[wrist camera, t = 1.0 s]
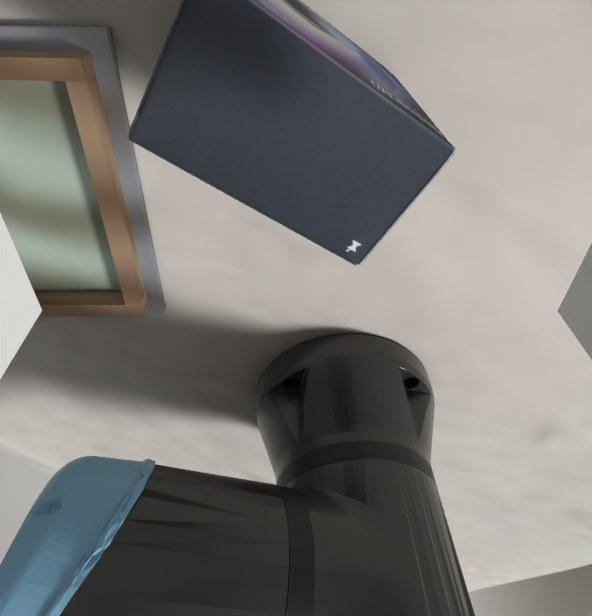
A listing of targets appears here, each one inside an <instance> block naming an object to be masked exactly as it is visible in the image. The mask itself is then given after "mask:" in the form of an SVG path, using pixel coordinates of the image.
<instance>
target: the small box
mask: <svg viewBox="0 0 592 616" xmlns="http://www.w3.org/2000/svg"><path fill="white" fill-rule="evenodd" d="M128 138H129V140H130V141H132V142H134V143H136V144H138V145H139V146H141V147H143V148H145V149H146V150H148V151H150V152H152V153H154V154H155V155H157V156H159V157H161V158H162V159H164V160H166V161H168V162H170V163H171V164H173V165H175V166H177V167H179V168H180V169H182V170H184V171H186V172H188V173H189V174H191V175H193V176H195V177H197V178H199V179H200V180H202V181H204V182H205V183H207V184H209V185H211V186H213V187H215V188H216V189H218V190H220V191H222V192H224V193H225V194H227V195H229V196H231V197H233V198H234V199H236V200H238V201H240V202H242V203H243V204H245V205H247V206H249V207H251V208H253V209H254V210H256V211H258V212H260V213H261V214H263V215H265V216H267V217H269V218H271V219H272V220H274V221H276V222H278V223H280V224H282V225H283V226H285V227H287V228H289V229H290V230H292V231H294V232H296V233H298V234H300V235H301V236H303V237H305V238H307V239H308V240H310V241H312V242H314V243H316V244H317V245H319V246H321V247H323V248H325V249H327V250H328V251H330V252H332V253H334V254H336V255H337V256H339V257H341V258H343V259H345V260H347V261H348V262H350V263H352V264H354V265H360V264H362V263H363V261H364V260H365V259H366V258H367V257H368V255H369V254H370V253H371V252H372V250H373V249H374V248H375V246H376V245H377V244H378V243H379V242H380V241H381V240H382V239H383V237H384V236H385V235H386V234H387V233H388V232H389V230H390V229H391V228H392V227H393V226H394V224H395V223H396V222H397V221H398V220H399V218H400V217H401V216H402V215H403V214H404V212H405V211H406V210H407V209H408V208H409V207H410V206H411V205H412V203H413V202H414V201H415V200H416V199H417V197H418V196H419V195H420V194H421V193H422V192H423V190H424V189H425V188H426V187H427V186H428V184H429V183H430V182H431V181H432V180H433V179H434V177H435V176H436V175H437V174H438V173H439V171H440V170H441V169H442V168H443V167H444V165H445V164H446V163H447V162H448V161H449V159H450V158H451V157H452V156H453V155H454V153H455V148H454V147H453V146H452V145H451V144H450V143H449V142H448V141H447V139H446V138H445V137H444V135H443V134H442V133H441V132H440V130H439V129H438V128H437V127H436V126H435V124H434V123H433V122H432V121H431V119H430V118H429V117H428V116H427V115H426V113H425V112H424V111H423V110H422V108H421V107H420V106H419V105H418V104H417V102H416V101H415V100H414V99H413V98H412V96H411V95H410V94H409V93H408V91H407V90H406V89H405V88H404V86H403V85H402V84H401V83H400V82H399V81H398V79H397V78H396V77H395V76H394V75H393V74H391V73H390V72H389V71H388V70H387V69H386V68H385V67H384V66H383V65H381V64H380V63H379V62H377V61H376V60H375V59H374V58H372V57H371V56H370V55H369V54H367V53H366V52H365V51H364V50H362V49H361V48H360V47H359V46H357V45H356V44H355V43H353V42H352V41H351V40H350V39H348V38H347V37H346V36H345V35H343V34H342V33H341V32H340V31H338V30H337V29H336V28H335V27H333V26H332V25H331V24H330V23H328V22H327V21H326V20H324V19H323V18H322V17H320V16H319V15H318V14H316V13H315V12H314V11H312V10H311V9H310V8H309V7H307V6H306V5H305V4H303V3H302V2H301V1H299V0H182V2H181V5H180V8H179V10H178V13H177V15H176V17H175V20H174V22H173V25H172V27H171V29H170V32H169V34H168V36H167V39H166V41H165V43H164V46H163V49H162V51H161V54H160V56H159V59H158V61H157V64H156V66H155V68H154V71H153V73H152V76H151V78H150V81H149V83H148V85H147V88H146V90H145V93H144V96H143V98H142V100H141V103H140V105H139V108H138V110H137V113H136V116H135V118H134V120H133V123H132V125H131V127H130V131H129V135H128Z"/></svg>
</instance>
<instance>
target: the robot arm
mask: <svg viewBox="0 0 592 616" xmlns="http://www.w3.org/2000/svg"><path fill="white" fill-rule="evenodd" d="M41 311H42V309H41V307H40V304H39V302H38V300H37V297H36V295H35V293H34V290H33V288H32V286H31V283H30V281H29V278H28V276H27V274H26V271H25V269H24V267H23V264H22V262H21V260H20V257H19V255H18V253H17V250H16V248H15V246H14V243H13V241H12V239H11V236H10V234H9V232H8V229H7V227H6V225H5V222H4V220H3V218H2V215H1V213H0V379H1V377H2V376H3V374H4V373H5V371H6V369H7V368H8V366H9V364H10V363H11V361H12V359H13V358H14V356H15V354H16V353H17V351H18V349H19V348H20V346H21V344H22V343H23V341H24V340H25V338H26V336H27V335H28V333H29V331H30V330H31V328H32V326H33V325H34V323H35V321H36V320H37V318H38V316H39V315H40V313H41ZM558 312H559V314H560V315H561V316H562V318H563V319H564V321H565V322H566V324H567V325H568V326H569V328H570V329H571V331H572V332H573V333H574V335H575V336H576V338H577V339H578V341H579V342H580V343H581V345H582V346H583V348H584V349H585V351H586V352H587V353H588V355H589V356H590V358H591V359H592V244H591V246H590V248H589V250H588V252H587V254H586V256H585V258H584V260H583V262H582V264H581V266H580V268H579V270H578V272H577V274H576V276H575V278H574V280H573V282H572V284H571V286H570V288H569V290H568V292H567V293H566V295H565V297H564V299H563V301H562V303H561V305H560V307H559V309H558ZM434 405H435V404H434V395H433V391H432V387H431V384H430V381H429V378H428V375H427V372H426V370H425V368H424V366H423V364H422V363H421V361H420V360H419V359H418V358H417V357H416V356H415V355H414V354H413V353H412V352H410V351H409V350H408V349H406V348H405V347H403V346H401V345H399V344H397V343H395V342H392V341H390V340H387V339H384V338H380V337H375V336H370V335H361V334H341V335H332V336H326V337H321V338H317V339H314V340H311V341H308V342H305V343H302V344H300V345H298V346H296V347H294V348H292V349H290V350H288V351H287V352H285V353H284V354H282V355H281V356H280V357H278V358H277V359H276V360H275V361H274V362H273V363H272V364H271V365H270V366H269V367H268V368H267V370H266V371H265V372H264V374H263V376H262V377H261V380H260V382H259V385H258V389H257V404H256V417H257V423H258V427H259V430H260V433H261V436H262V439H263V441H264V444H265V447H266V450H267V453H268V456H269V459H270V462H271V465H272V468H273V470H274V473H275V476H276V483H277V485H274V484H269V483H263V482H257V481H251V480H245V479H239V478H233V477H227V476H221V475H215V474H209V473H202V472H196V471H190V470H185V469H179V468H173V467H167V466H162V465H156V464H155V461H153V460H151V459H146V460H144V461H142V462H141V461H132V460H124V459H115V458H107V457H98V456H86V457H81V458H78V459H75V460H73V461H71V462H69V463H67V464H66V465H65V466H63V467H62V468H61V469H60V470H59V471H58V472H57V473H56V474H55V475H54V476H53V477H52V478H51V480H50V481H49V482H48V484H47V485H46V486H45V488H44V489H43V491H42V492H41V494H40V495H39V497H38V498H37V500H36V502H35V503H34V505H33V506H32V508H31V510H30V511H29V513H28V515H27V517H26V518H25V520H24V522H23V524H22V526H21V528H20V529H19V531H18V533H17V535H16V537H15V539H14V540H13V542H12V544H11V546H10V548H9V550H8V552H7V553H6V555H5V557H4V559H3V561H2V563H1V565H0V616H475V615H474V611H473V608H472V604H471V601H470V598H469V594H468V591H467V587H466V584H465V580H464V577H463V574H462V570H461V567H460V564H459V560H458V557H457V553H456V550H455V547H454V543H453V540H452V536H451V533H450V530H449V526H448V523H447V519H446V516H445V513H444V509H443V506H442V502H441V499H440V496H439V492H438V489H437V486H436V482H435V479H434V475H433V472H432V468H431V463H430V459H431V446H432V433H433V419H434Z"/></svg>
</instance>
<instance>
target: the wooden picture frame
mask: <svg viewBox="0 0 592 616" xmlns="http://www.w3.org/2000/svg"><path fill="white" fill-rule="evenodd" d="M129 131H130V126H129V121H128V116H127V111H126V106H125V101H124V96H123V91H122V86H121V81H120V76H119V71H118V66H117V61H116V56H115V51H114V46H113V41H112V36H111V31H110V27H91V26H48V25H6V24H0V213H1V215H2V218H3V220H4V222H5V225H6V227H7V229H8V232H9V234H10V236H11V239H12V241H13V243H14V246H15V248H16V250H17V253H18V255H19V257H20V260H21V262H22V264H23V267H24V269H25V271H26V274H27V276H28V278H29V281H30V283H31V286H32V288H33V290H34V293H35V295H36V297H37V300H38V302H39V304H40V307H41V309H42V311H41V313H40V315H39V316H143V315H144V313H164V312H165V309H166V307H165V302H164V297H163V292H162V287H161V282H160V277H159V272H158V267H157V262H156V257H155V252H154V247H153V242H152V237H151V232H150V227H149V222H148V217H147V212H146V207H145V202H144V197H143V192H142V187H141V181H140V176H139V171H138V166H137V161H136V156H135V151H134V146H133V142H132V141H130V140H129V138H128V135H129Z"/></svg>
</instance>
